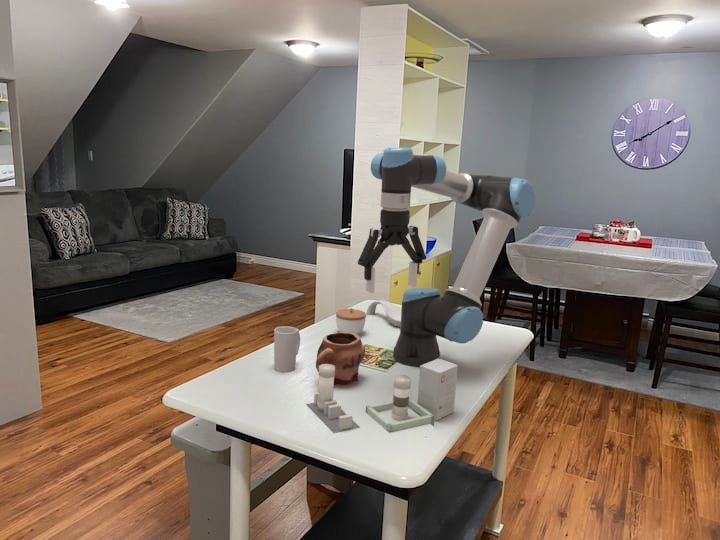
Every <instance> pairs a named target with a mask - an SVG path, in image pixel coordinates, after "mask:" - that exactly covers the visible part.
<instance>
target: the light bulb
mask: <svg viewBox="0 0 720 540" xmlns="http://www.w3.org/2000/svg"><path fill="white" fill-rule="evenodd" d="M411 383H412V378H411V376H408V375H403V374H400V375H399V374H398V375H395V376H394V380H393V386H394V387H393V389H394V390H393V397H392V398H393V399H392V401H393V409H392V410H391V418H392V419H393V420H395V421H396V422H399V421H404V420H408V418H409V412H408V411H409V407H408V404H409V398H410V389H411Z"/></svg>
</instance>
